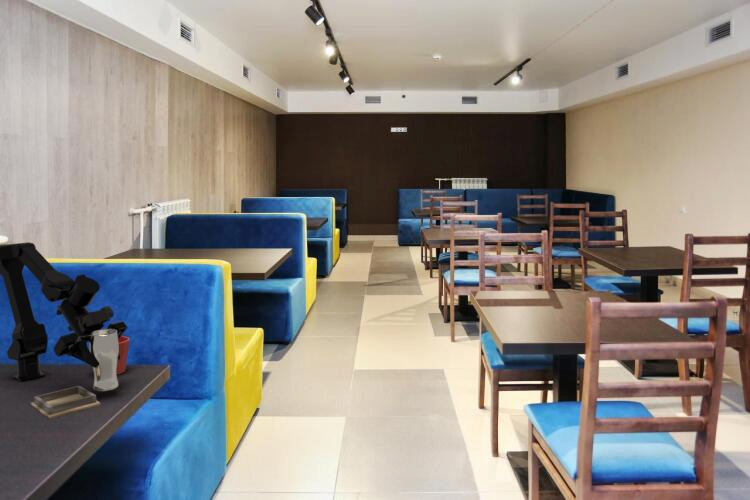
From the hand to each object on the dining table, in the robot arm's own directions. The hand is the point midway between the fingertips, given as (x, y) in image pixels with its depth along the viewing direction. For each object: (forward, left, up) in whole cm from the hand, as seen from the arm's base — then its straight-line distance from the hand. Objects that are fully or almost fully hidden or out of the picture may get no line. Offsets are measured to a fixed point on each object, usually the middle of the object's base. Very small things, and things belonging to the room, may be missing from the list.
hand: (108, 363), depth 157 cm
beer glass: (-2, 0, -7) cm, 7 cm away
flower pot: (-20, +9, -9) cm, 24 cm away
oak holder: (-2, -10, -9) cm, 14 cm away
